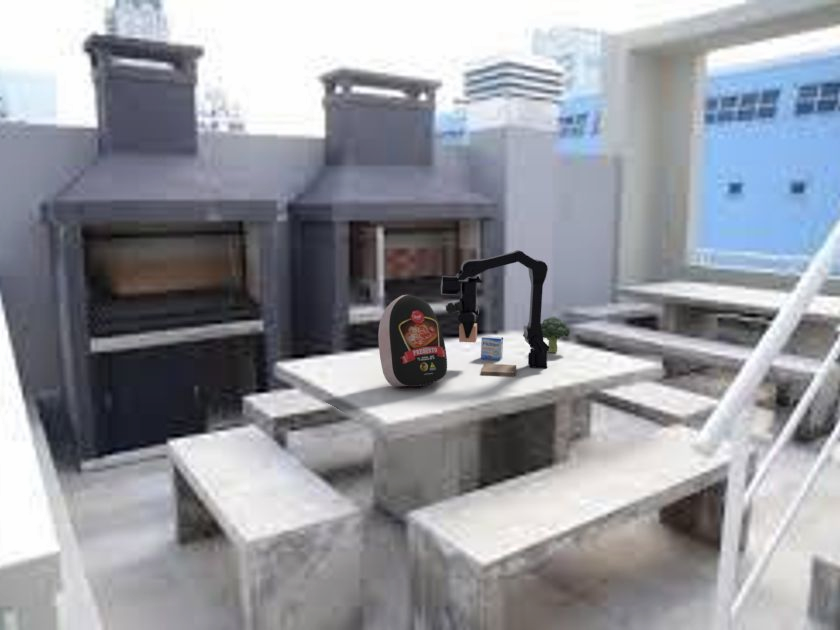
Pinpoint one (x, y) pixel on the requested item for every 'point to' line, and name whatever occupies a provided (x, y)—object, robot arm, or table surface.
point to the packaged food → (411, 343)
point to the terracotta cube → (472, 336)
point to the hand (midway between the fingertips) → (468, 336)
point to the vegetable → (554, 331)
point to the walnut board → (498, 369)
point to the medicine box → (491, 347)
